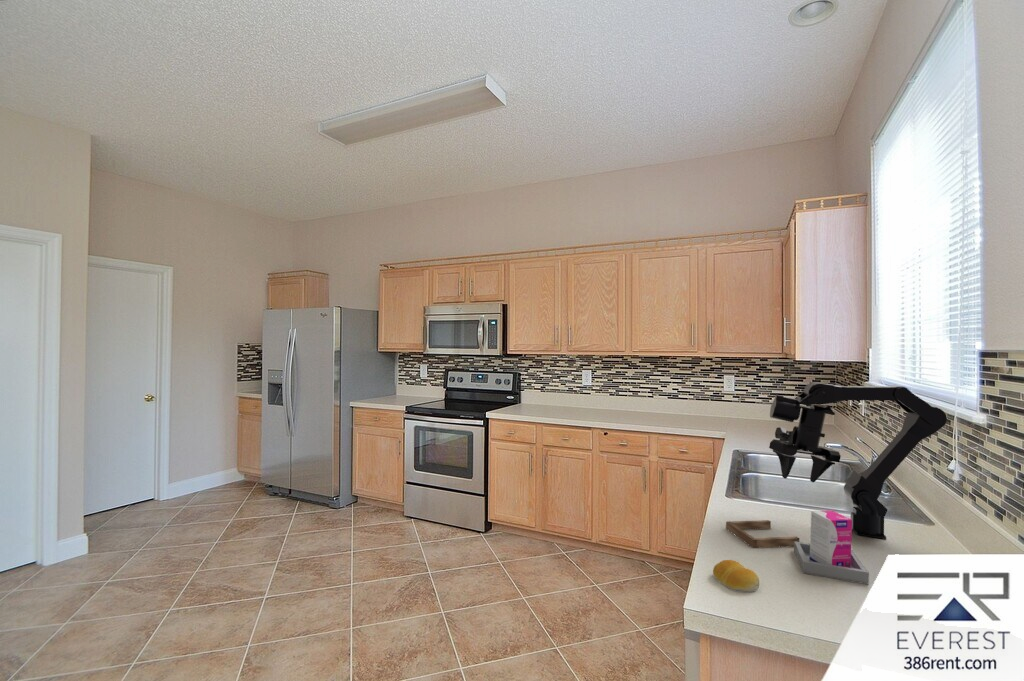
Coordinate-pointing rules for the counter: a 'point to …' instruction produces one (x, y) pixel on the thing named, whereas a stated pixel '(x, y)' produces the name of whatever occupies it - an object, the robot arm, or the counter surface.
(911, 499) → the counter surface
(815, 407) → the robot arm
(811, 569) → the grey tray
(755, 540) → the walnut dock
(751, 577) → the bread roll
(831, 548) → the supplement box
